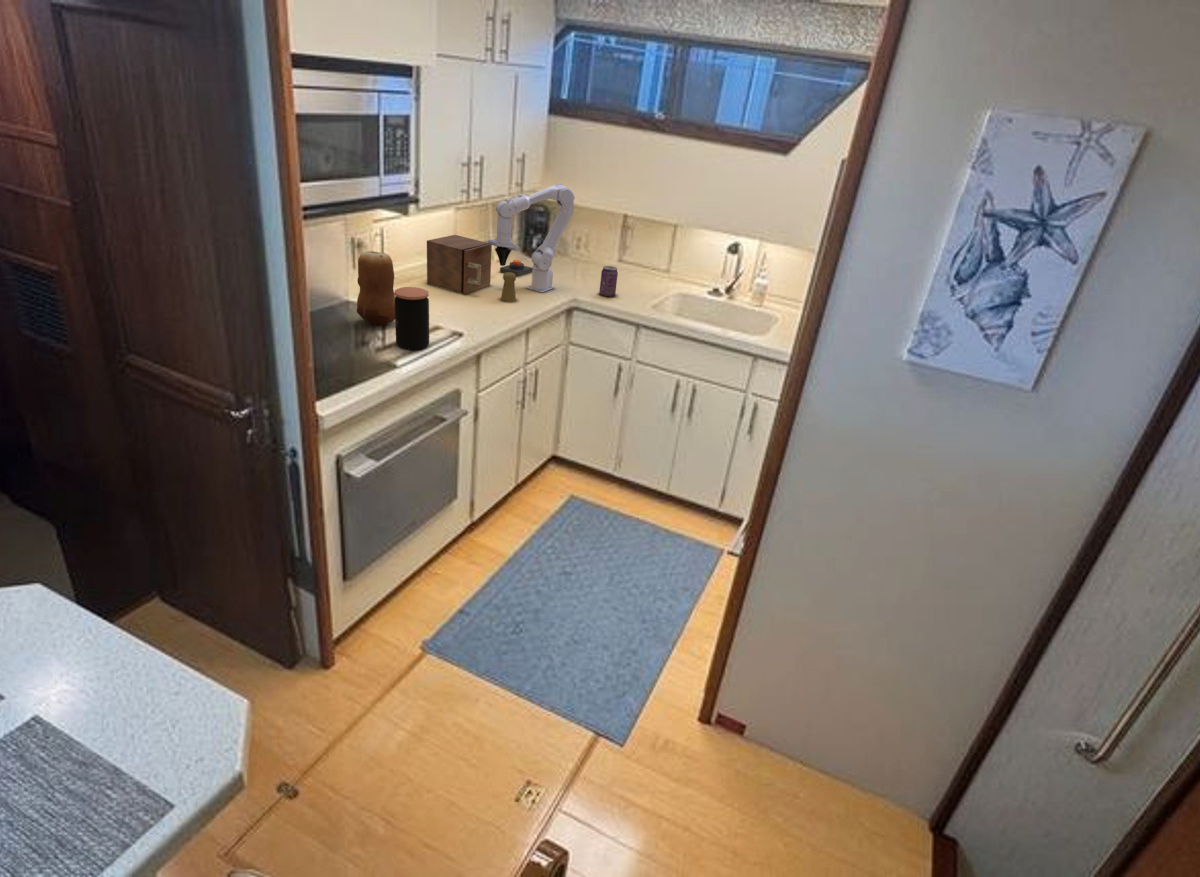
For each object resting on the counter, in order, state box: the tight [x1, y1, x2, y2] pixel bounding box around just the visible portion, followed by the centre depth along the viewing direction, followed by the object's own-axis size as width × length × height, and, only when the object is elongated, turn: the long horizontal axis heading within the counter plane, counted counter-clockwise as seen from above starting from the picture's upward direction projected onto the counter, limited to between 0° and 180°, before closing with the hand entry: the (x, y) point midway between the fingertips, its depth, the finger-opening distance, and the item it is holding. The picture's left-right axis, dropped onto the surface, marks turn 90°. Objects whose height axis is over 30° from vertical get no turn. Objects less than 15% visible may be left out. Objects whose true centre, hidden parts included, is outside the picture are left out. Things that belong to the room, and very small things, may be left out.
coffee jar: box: [394, 286, 430, 351], centre depth 224 cm, size 11×11×18 cm
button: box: [512, 259, 522, 265], centre depth 317 cm, size 4×4×2 cm
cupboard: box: [426, 234, 488, 294], centre depth 288 cm, size 18×18×18 cm
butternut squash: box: [356, 250, 396, 326], centre depth 236 cm, size 14×13×25 cm
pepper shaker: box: [500, 272, 517, 303], centre depth 279 cm, size 6×6×11 cm
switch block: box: [499, 261, 533, 278], centre depth 319 cm, size 12×10×4 cm
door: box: [462, 244, 493, 295], centre depth 284 cm, size 7×18×18 cm, turn 154°
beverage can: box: [598, 265, 619, 297], centre depth 300 cm, size 7×7×12 cm
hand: (502, 265), depth 289 cm, fingers closed
